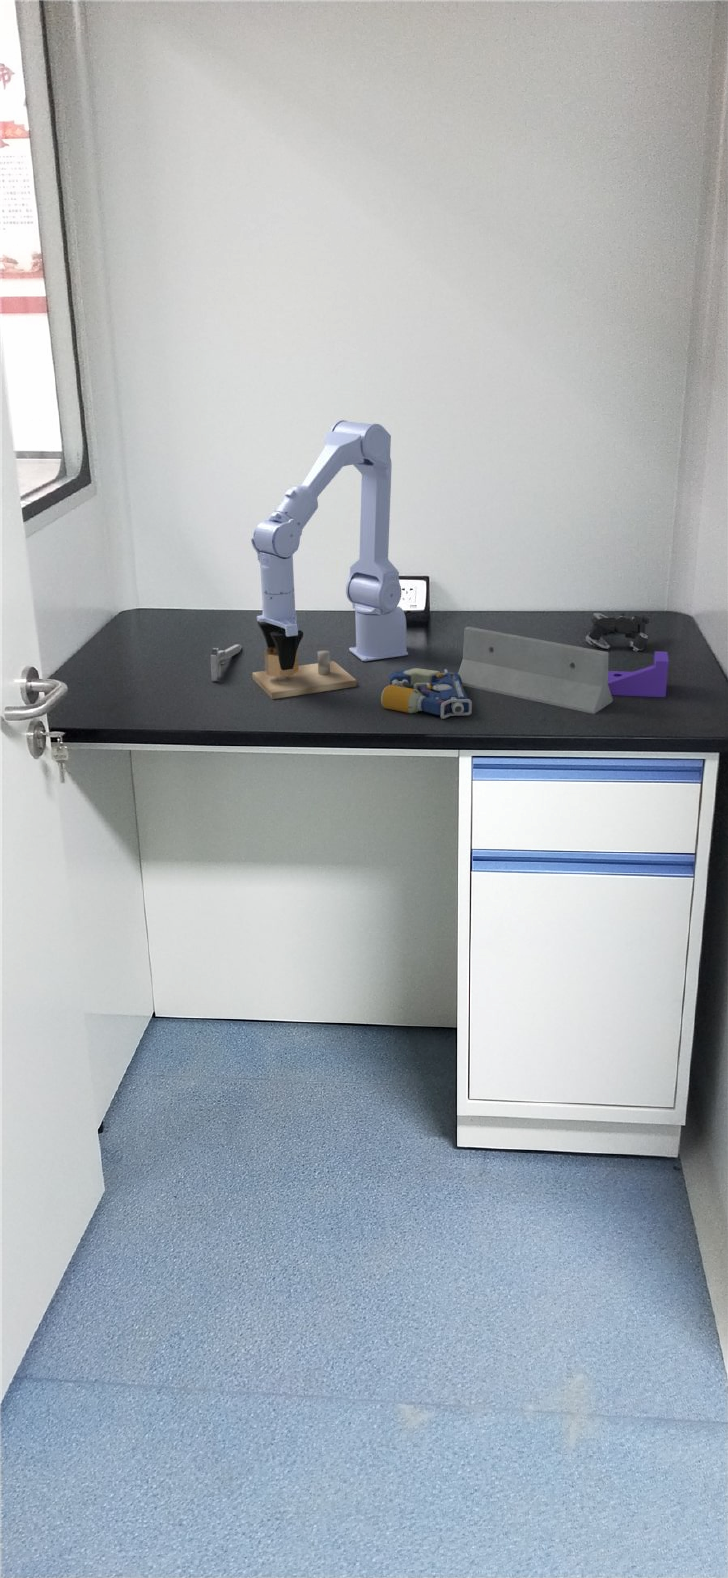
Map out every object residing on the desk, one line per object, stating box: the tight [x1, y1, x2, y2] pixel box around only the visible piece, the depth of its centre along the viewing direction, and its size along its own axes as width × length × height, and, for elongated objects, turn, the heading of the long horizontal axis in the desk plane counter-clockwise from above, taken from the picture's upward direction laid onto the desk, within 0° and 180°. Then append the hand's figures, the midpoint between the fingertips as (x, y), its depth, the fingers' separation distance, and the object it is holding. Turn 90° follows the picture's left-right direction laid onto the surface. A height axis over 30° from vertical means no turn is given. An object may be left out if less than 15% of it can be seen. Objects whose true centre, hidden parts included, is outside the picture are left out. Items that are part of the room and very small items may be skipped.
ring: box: [263, 646, 299, 677], centre depth 212 cm, size 6×6×4 cm
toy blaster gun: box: [380, 667, 473, 720], centre depth 205 cm, size 21×4×15 cm
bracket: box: [608, 650, 669, 698], centre depth 207 cm, size 12×7×7 cm, turn 79°
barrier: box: [457, 626, 614, 715], centre depth 206 cm, size 28×7×10 cm, turn 54°
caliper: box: [210, 643, 243, 682], centre depth 225 cm, size 20×1×6 cm, turn 173°
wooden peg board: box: [251, 650, 357, 700], centre depth 214 cm, size 16×12×5 cm
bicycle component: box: [585, 612, 650, 652], centre depth 233 cm, size 12×7×15 cm
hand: (282, 663), depth 212 cm, fingers closed on ring, 6 cm apart
